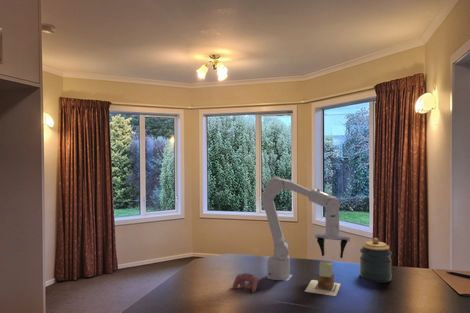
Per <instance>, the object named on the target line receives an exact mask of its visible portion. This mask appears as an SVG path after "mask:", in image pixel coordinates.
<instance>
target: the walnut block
mask: <svg viewBox="0 0 470 313" xmlns="http://www.w3.org/2000/svg"><path fill="white" fill-rule="evenodd" d="M317 281H318V288H320V289H327V290H332V289H333V287H334V283H335V273H334V272H332V276H331V277H323V276H319V274H318V275H317Z"/></svg>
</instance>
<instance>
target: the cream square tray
mask: <svg viewBox="0 0 470 313" xmlns="http://www.w3.org/2000/svg"><path fill="white" fill-rule="evenodd" d="M340 287H341V283H339V282H334V287H333V289H332V290H327V289H320V288H318V279H311V280H310V282H309V283H308V285H307V287H306V288H305V290H304V292H306V293H313V294H318V295H319V294H320V295H326V296H332V297H333V296H334V297H337V294H338V292H339V289H340Z"/></svg>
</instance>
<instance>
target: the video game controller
mask: <svg viewBox="0 0 470 313" xmlns="http://www.w3.org/2000/svg"><path fill="white" fill-rule="evenodd" d="M246 282H247V285H246ZM258 284H259V278H258V277H257V276H255V275H253V274H251V273H247V272H246V273H245V272H244V273H239V274H237V275H236V276H235V279H234V281H233V284H232V289H233V290H236V289H237V288H238V286H239V287H240V288H241V289H244V288H245V287H246V288H247V289H248V290H251V292H252V293H253V292H254V293H255V292H256V291H257V287H258Z"/></svg>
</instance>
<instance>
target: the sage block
mask: <svg viewBox="0 0 470 313" xmlns="http://www.w3.org/2000/svg"><path fill="white" fill-rule="evenodd" d="M318 268H319V269H318V272H319V273H318V275H319V276H323V277H331V276H332V273H333V261H329V260H320V262H319V267H318Z"/></svg>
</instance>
